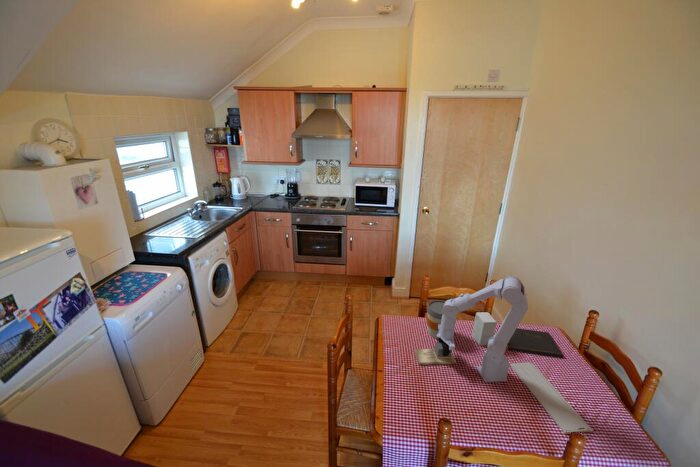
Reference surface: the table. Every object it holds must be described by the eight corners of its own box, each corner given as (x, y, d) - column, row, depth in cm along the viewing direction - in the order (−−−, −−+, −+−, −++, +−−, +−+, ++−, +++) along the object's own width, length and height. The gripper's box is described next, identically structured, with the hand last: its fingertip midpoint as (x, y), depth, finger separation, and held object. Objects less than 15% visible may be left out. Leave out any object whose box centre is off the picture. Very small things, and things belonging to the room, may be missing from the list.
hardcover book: (498, 329, 154) (499, 325, 153) (547, 336, 150) (548, 332, 149) (507, 351, 139) (508, 347, 138) (562, 359, 135) (563, 355, 134)
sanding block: (447, 351, 135) (448, 342, 134) (450, 358, 132) (452, 348, 130) (434, 351, 135) (435, 342, 133) (437, 358, 131) (438, 349, 129)
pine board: (448, 350, 138) (448, 348, 137) (455, 363, 130) (455, 361, 130) (414, 351, 136) (414, 349, 136) (419, 364, 129) (419, 362, 129)
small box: (492, 345, 142) (497, 322, 137) (479, 345, 141) (484, 322, 137) (483, 334, 149) (488, 311, 145) (471, 334, 149) (475, 312, 144)
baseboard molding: (534, 364, 132) (509, 366, 130) (536, 359, 131) (510, 361, 129) (596, 432, 103) (564, 435, 101) (599, 426, 102) (566, 429, 100)
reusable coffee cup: (420, 325, 154) (423, 300, 149) (444, 324, 156) (447, 299, 151) (429, 342, 143) (433, 315, 138) (454, 340, 144) (459, 314, 139)
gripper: (432, 316, 134) (429, 340, 139) (444, 338, 121) (440, 364, 126) (448, 315, 135) (444, 340, 140) (461, 337, 121) (456, 363, 126)
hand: (443, 351), depth 133 cm, fingers closed on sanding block, 4 cm apart
